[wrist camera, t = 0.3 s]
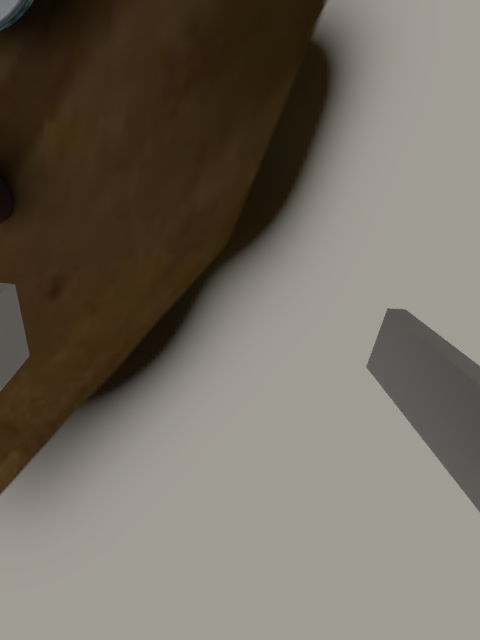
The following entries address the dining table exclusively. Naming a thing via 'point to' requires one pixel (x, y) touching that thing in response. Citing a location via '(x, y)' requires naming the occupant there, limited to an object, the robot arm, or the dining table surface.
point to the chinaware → (12, 11)
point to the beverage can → (4, 201)
